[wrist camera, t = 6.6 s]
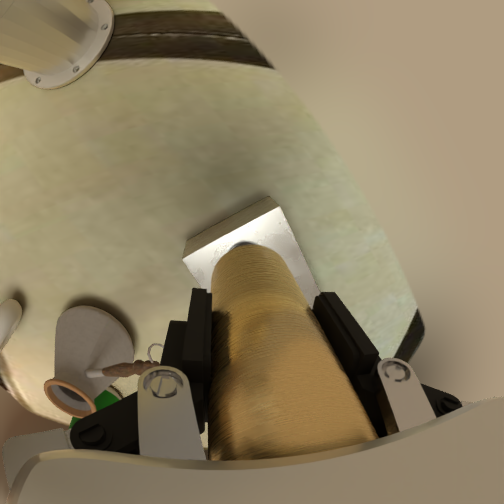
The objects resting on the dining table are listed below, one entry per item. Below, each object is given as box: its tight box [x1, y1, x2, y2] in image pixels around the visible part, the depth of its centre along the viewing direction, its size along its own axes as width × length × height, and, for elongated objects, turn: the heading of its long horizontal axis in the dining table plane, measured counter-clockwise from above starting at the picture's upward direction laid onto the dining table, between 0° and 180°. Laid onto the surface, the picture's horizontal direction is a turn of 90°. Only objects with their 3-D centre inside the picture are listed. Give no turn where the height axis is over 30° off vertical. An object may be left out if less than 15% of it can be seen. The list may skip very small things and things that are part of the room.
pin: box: [208, 245, 379, 461], centre depth 8 cm, size 4×4×12 cm
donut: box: [0, 299, 22, 352], centre depth 25 cm, size 10×3×10 cm, turn 131°
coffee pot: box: [44, 305, 164, 418], centre depth 25 cm, size 21×12×15 cm, turn 124°
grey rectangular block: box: [182, 196, 320, 309], centre depth 30 cm, size 20×10×6 cm, turn 27°
